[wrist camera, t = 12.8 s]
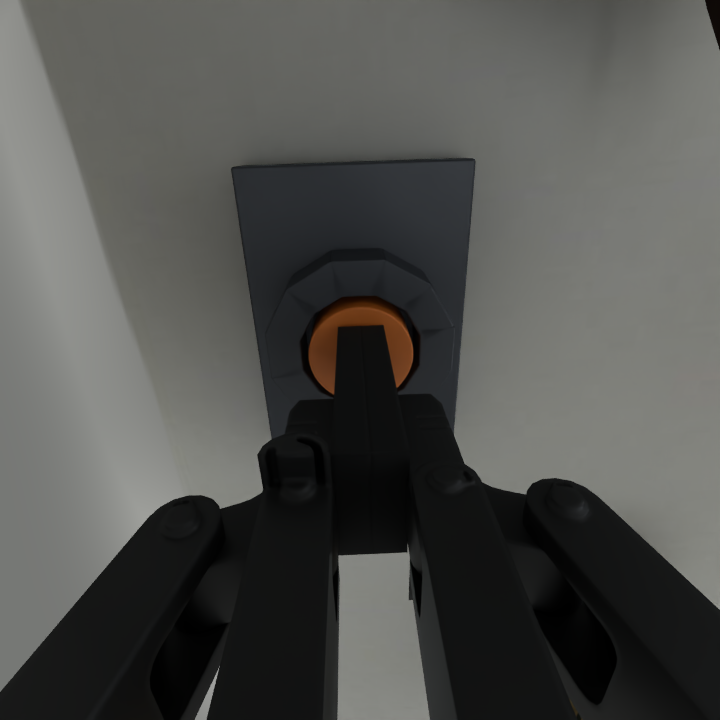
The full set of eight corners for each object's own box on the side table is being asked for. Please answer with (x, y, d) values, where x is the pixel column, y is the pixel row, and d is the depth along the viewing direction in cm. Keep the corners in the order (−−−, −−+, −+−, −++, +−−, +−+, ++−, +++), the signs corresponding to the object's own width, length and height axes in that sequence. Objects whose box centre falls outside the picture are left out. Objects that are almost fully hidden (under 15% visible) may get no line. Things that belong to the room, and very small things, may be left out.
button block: (241, 165, 15) (214, 169, 12) (463, 157, 15) (493, 159, 12) (279, 437, 21) (267, 489, 17) (444, 431, 21) (462, 481, 18)
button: (308, 293, 15) (303, 309, 14) (407, 289, 15) (414, 304, 14) (316, 380, 17) (312, 404, 15) (406, 376, 17) (412, 400, 15)
